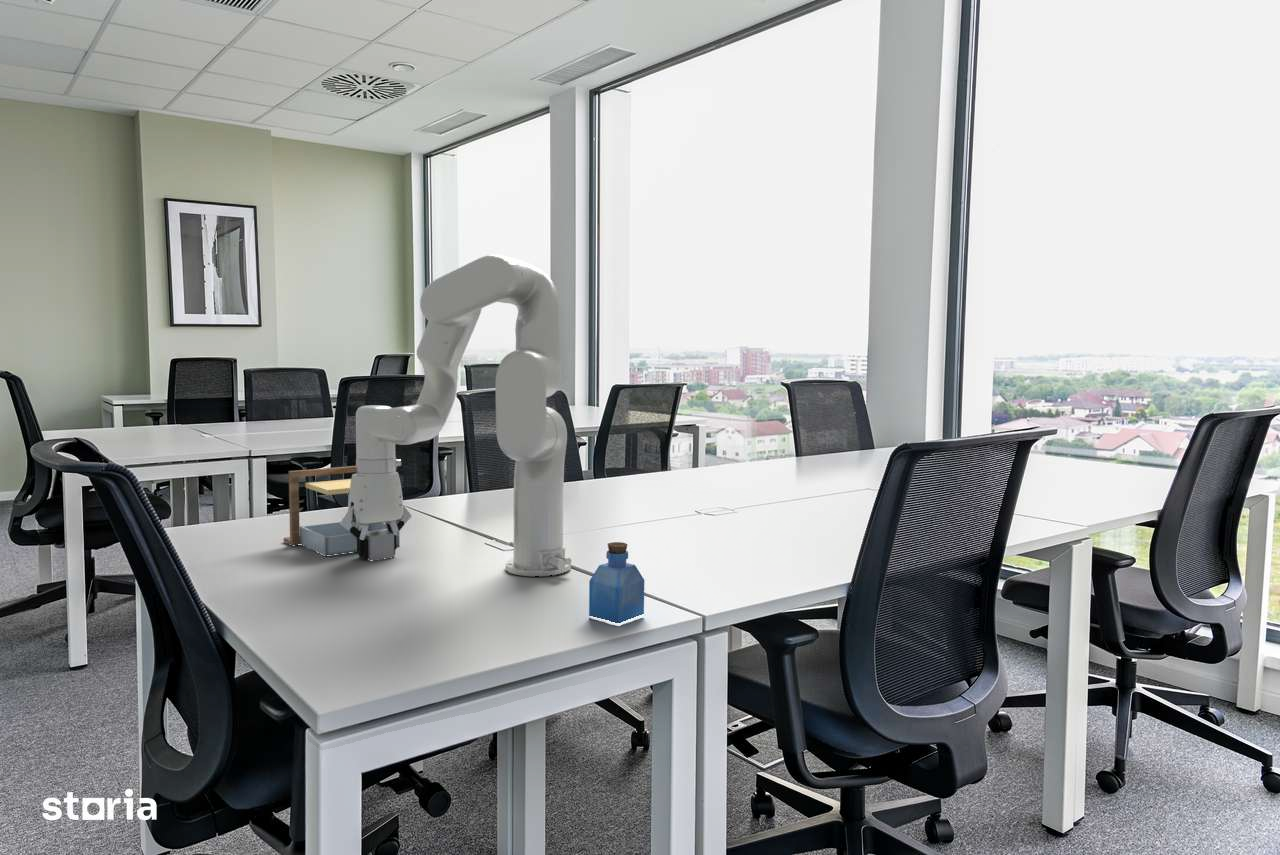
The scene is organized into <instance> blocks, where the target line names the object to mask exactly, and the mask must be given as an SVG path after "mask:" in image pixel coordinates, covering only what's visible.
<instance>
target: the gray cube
mask: <svg viewBox="0 0 1280 855" xmlns="http://www.w3.org/2000/svg"><path fill="white" fill-rule="evenodd" d="M366 539H367V540H368V559H369V560H377V559H384V558H391V557H394V558H395V555H394V533H391V532H388V531H385V530H376V531H369V532H367V534H366ZM391 559H392V558H391ZM384 560H385V559H384Z"/></svg>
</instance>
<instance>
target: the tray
mask: <svg viewBox="0 0 1280 855" xmlns="http://www.w3.org/2000/svg"><path fill="white" fill-rule="evenodd" d="M340 522H341V521H335V522H334V521H333V522H328V523H327V522H326V523H319V524H310V525H300V526H299V527H300V544H302V545H304V546H306V547H308V548H310V549H312V550H314V551H317V552H319V553H321V554H323V555H325V556H327V555H334V554H342V553H349V552H357V538H356V537H355V536H354V535H353V534H352V533H350V532H349V531H348V530H347V529H345V528H344V527H342V526H341V525H340ZM351 524H352V525H353V526H354V527H356V526H357V522H352V521H351ZM376 530H385V531H387V527H386V524H385V523H378V524H369V526H368V530H367V532H369V531H376ZM396 539H397V546H398V547H400V545H401V544H400V533H399V534H398V535H396ZM312 550H311V551H312ZM314 551H313V552H314Z"/></svg>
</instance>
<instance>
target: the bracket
mask: <svg viewBox="0 0 1280 855" xmlns="http://www.w3.org/2000/svg"><path fill="white" fill-rule="evenodd" d="M356 472H357V471H356V465H351V466H349V465H348V466H340V467H339V466H336V467H323V468H313V469H311V468H310V469H300V470H298V469H297V470H288V500H289V502H288V504H289V505H288V508H289V536H286V537H283V542H284V541H285V542H287V543H289V544H291V545H298V544H300V527H301V526H300V492H299V491H300V490H299V489H300V488H302V487H305V483H306V482H299V478H301V477H302V478H303V477H313V476H314V477H315V476H316V477H317V476H326V475H327V476H328V475H338V474H349V473H356ZM305 488H306V487H305Z"/></svg>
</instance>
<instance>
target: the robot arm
mask: <svg viewBox="0 0 1280 855" xmlns="http://www.w3.org/2000/svg"><path fill="white" fill-rule="evenodd" d="M419 300H420V301H419V305H420V311H421V314H422V315H423V316H424V318H425V319H426V320H427V321H428V322H427V325H426V327H425V329H424V332H423V334H422V337H421V338H420V341H419V344H418V346H417V349H416V356H417V359H418V360H419V362H420V364H421V365H422V368H423V371H424V381H423V385H422V388H421V391H420V394H419V396H418V399H417V401H416V403H415V404H412V405H411V404H410V405H403V406H397V407H391V406H389V405H380V404H379V405H376V404H375V405H374V404H373V405H372V404H370V405H362V406H360V407H358V408H357V410H356V412H355V448H356V449H355V452H356V453H355V454H356V457H355V458H356V459H355V463H356V464H355V466H356V471H357V472H355V473H353V474H352V475H351V478H350V479H351V483H350V490H349V493H348V503H347V512H346V513H345V515H344V517H343V518H342V519H341V521H339V522H340V525H341V526H342V527H344V528H345V529H347V530H348V531H349V532H350V533H352V534H353V535H354V536H355V537H356V538H357V553H356V554H357V555H358V557H359V558H361V559H362V560H366V559H368V540H367V539H366V534H367V530H368V526H369V524H378V523H385V524H386V527H387V531H388V532H391V533H394V556H395V555H396V549H397V539H396V535H398V534H399V535H400V531H401V530H402V529H403V527H404V526H405V524H407V522H409V520H410V519H411V518H412V514H411V513H410V512H409V511H408V509H407V508H406V507H405V506H404V502H403V501H404V499H403V490H402V489H403V488H402V483H401V479H400V475H399V472H398V471H397V467H401V466H402V459H397V457H396V445H401V446H403V445H405V446H406V445H412V444H417V443H419V442H420V443H421V442H425V441H429V440H432V439H434V438H435V437H436V436H438V435H439V434H440V433H441V431H442V430H443V428H444V426H445V424H446V423H447V420H448V418H449V415H450V413H451V411H452V408H453V405H454V402H455V399H456V395H457V390H458V374H459V373H458V370H459V366H460V365H461V362H462V359H463V356H464V354H465V352H466V348H467V346H468V344H469V341H470V339H471V337H472V334H473V332H474V330H475V328H476V325H477V323H478V321H479V318H480V315H481V313H482V309H483V308H486V307H487V306H489V305H492V304H495V303H503V304H511V305H514V306H516V309H517V317H516V319H515V320H516V321H515V330H514V332H515V350H512V351H511V352H509V353H508V354H507V355H505V356H504V357H503V358H502V359H501V361H500V363H499V364H498V367H497V371H496V375H495V433H496V440H497V444H498V446H499V448H500V450H501V451H502V452H503V454H504V455H505V456H507V457H508V458H510V459H511V460H514V461H515V464H514V473H513V474H514V475H513V558H512V559H509V560H508V561H507V562H506V563H505V568H504V569H505V571H507V572H508V573H509V574H513V575H516V576H522V577H535V576H539V577H551V576H550V575H552V576H558V575H562V574H565V573H567V572H568V571H570V569H571V568H572V566H571V565H572V559H571V558H570V557H568V556H566V548H564V486H565V485H564V479H565V459H566V454H567V453H566V451H567V443H568V430H567V426H566V422H565V420H564V418H563V416H562V414H560V413H559V412H557V410H556V409H553V408H551V407H548V406H547V398H549V397H551V396H553V395H554V394H555V393H556V392H558V390H559V388H560V385H561V383H562V341H561V340H562V337H561V303H560V302H561V301H560V295H559V292H558V288H557V287H556V285H555V283H554V282H553V280H552V279H551V277H549V275H548V274H546V272H544V270H542V269H540V268H539V267H536V266H535V265H533V264H530V263H528V262H525V261H523V260H520V259H518V258H513V257H510V256H507V255H501V254H496V253H495V254H488V255H484V256H481V257H478V258H477V259H475V260H472V261H470V262H468V263H467V264H464V265H462V266H460V267H458V268H456V269H454V270H452V271H449V272H448V273H446V274H444V275H441V276H440V277H438V278H436V279H434V280H433V281H431V282H430V283H429V284H428V285H427V286H426V287H425V288H424V289H423V291H422V294H421V296H420V299H419ZM351 521H352V522H357V526H356V527H354V526H353V525H352V524H351ZM564 572H565V573H564ZM561 573H562V574H561ZM557 574H558V575H557Z"/></svg>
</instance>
